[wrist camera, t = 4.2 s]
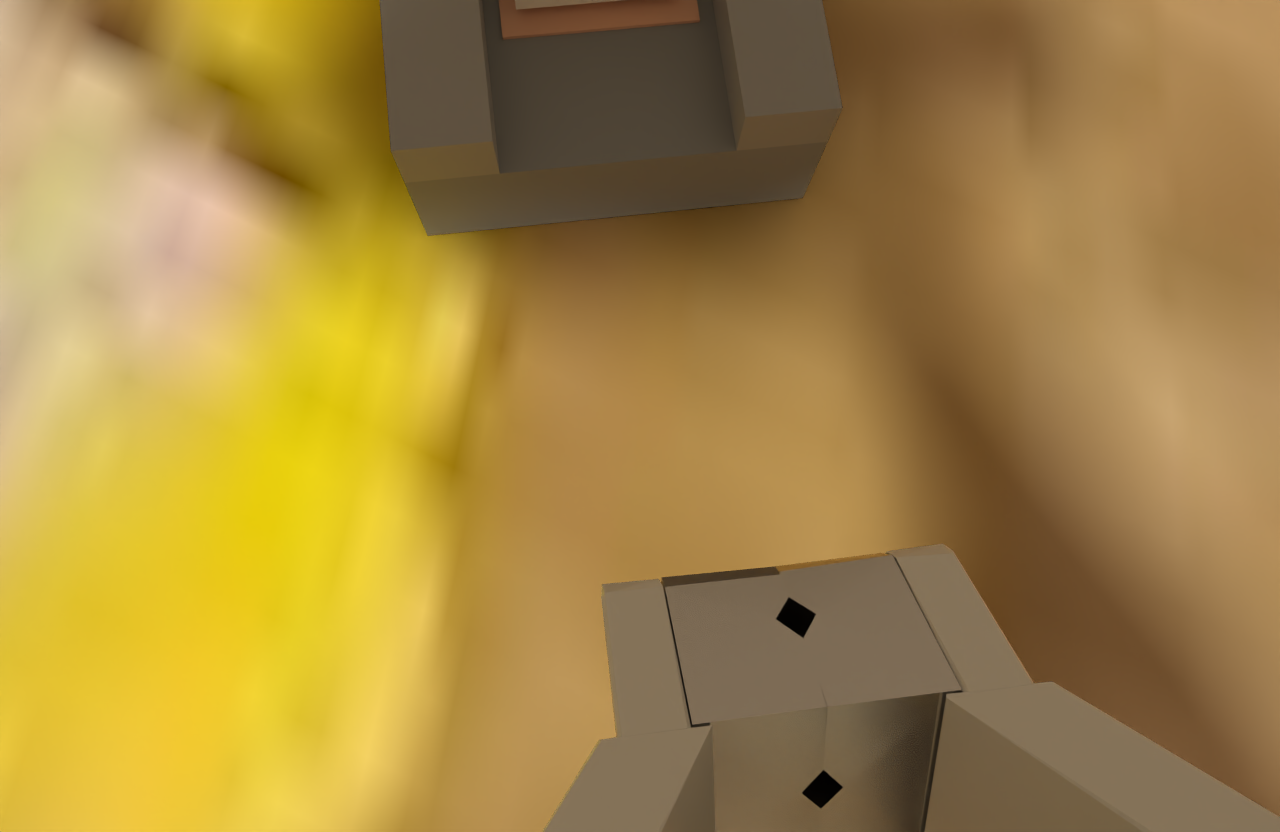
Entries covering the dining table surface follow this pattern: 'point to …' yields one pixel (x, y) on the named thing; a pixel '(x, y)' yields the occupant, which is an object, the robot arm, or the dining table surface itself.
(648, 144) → the switch panel
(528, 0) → the switch knob
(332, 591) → the dining table surface
